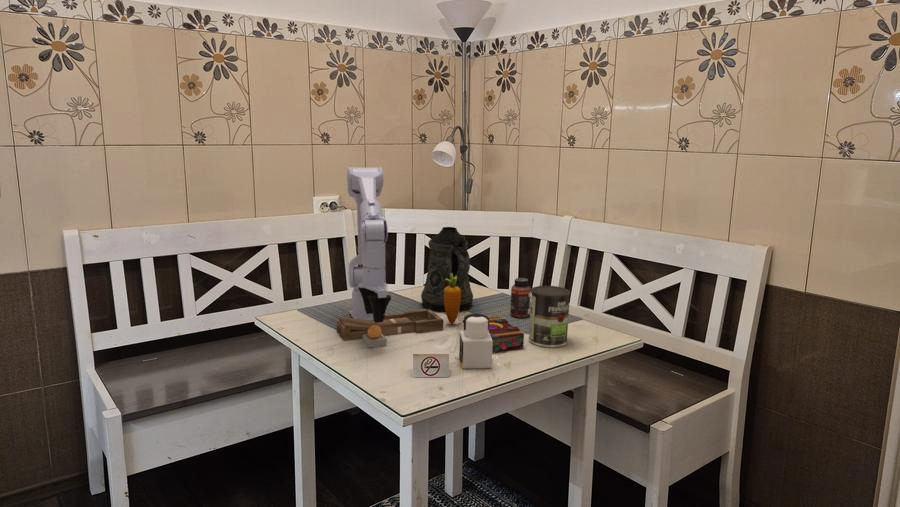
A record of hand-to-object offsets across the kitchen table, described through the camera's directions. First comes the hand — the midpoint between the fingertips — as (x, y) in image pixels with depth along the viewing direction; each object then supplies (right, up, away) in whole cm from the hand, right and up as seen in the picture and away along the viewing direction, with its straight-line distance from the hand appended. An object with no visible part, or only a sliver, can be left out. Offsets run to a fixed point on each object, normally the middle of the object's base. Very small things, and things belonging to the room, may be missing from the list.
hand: (374, 317), depth 157 cm
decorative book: (+31, -7, +5) cm, 32 cm away
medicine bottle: (+26, -10, -10) cm, 29 cm away
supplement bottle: (+41, -2, +28) cm, 49 cm away
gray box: (0, -7, +2) cm, 7 cm away
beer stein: (+20, 0, +36) cm, 41 cm away
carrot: (+20, -4, +18) cm, 27 cm away
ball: (0, -4, +1) cm, 4 cm away
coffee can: (+46, -7, +6) cm, 47 cm away
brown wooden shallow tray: (+3, -5, +12) cm, 13 cm away
